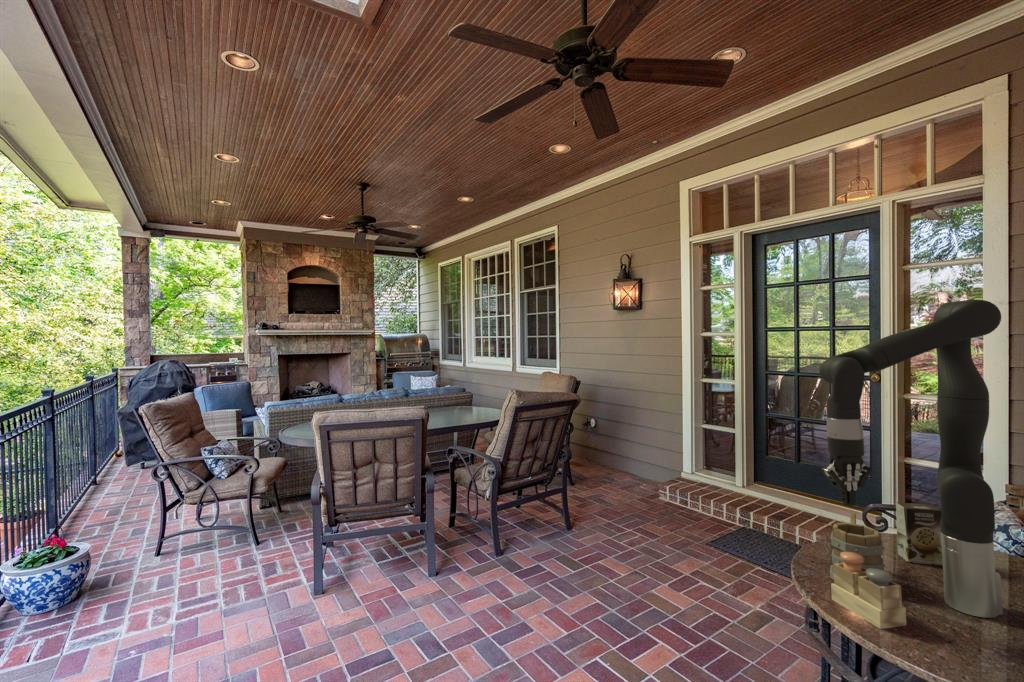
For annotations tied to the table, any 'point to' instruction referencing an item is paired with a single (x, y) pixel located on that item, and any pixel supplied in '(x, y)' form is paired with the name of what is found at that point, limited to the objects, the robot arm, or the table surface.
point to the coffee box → (919, 533)
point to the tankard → (857, 544)
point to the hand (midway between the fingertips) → (849, 504)
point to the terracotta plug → (852, 561)
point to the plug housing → (868, 598)
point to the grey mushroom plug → (878, 577)
